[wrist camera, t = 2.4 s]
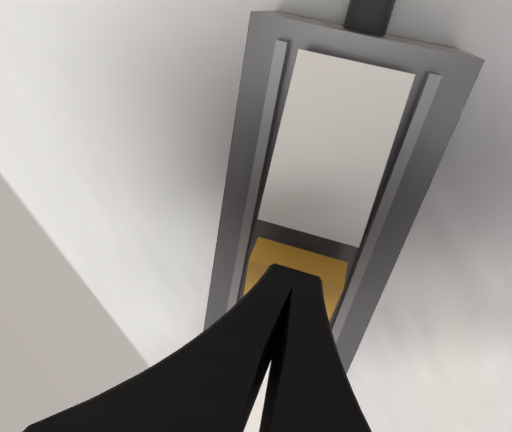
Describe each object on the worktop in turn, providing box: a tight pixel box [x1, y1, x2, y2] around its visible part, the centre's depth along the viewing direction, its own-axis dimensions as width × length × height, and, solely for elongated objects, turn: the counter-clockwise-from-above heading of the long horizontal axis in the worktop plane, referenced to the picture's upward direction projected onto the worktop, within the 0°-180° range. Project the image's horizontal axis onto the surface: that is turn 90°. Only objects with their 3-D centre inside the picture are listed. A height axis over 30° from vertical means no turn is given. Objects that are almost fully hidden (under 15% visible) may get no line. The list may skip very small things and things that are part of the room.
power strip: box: [203, 0, 484, 374], centre depth 14 cm, size 21×6×4 cm, turn 170°
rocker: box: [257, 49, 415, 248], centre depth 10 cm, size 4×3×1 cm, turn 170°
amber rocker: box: [244, 237, 348, 321], centre depth 13 cm, size 4×3×1 cm, turn 170°
